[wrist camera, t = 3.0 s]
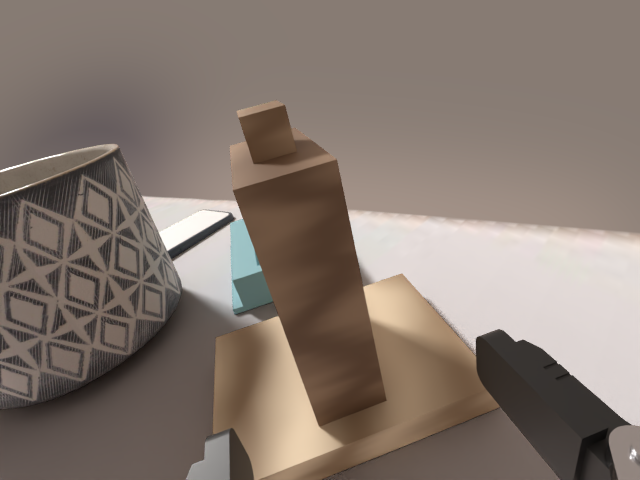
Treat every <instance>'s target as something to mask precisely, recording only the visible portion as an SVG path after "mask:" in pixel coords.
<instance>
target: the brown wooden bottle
mask: <svg viewBox="0 0 640 480" xmlns="http://www.w3.org/2000/svg"><path fill="white" fill-rule="evenodd" d="M237 114H238V117H239V120H240V123H241V126H242V130H243V133H244V136H245V139H246V141H245V142H242V143H238V144H235V145H231V146H230V157H231V171H232V186H233V192H234V195H235V197H236V200H237V203H238V206H239V209H240V211H241V214H242V217H243V220H244V222H245V225H246V228H247V231H248V233H249V236H250V239H251V242H252V244H253V247H254V250H255V253H256V255H257V258H258V261H259V264H260V266H261V269H262V272H263V275H264V277H265V280H266V283H267V286H268V288H269V291H270V294H271V296H272V299H273V302H274V305H275V307H276V310H277V313H278V316H279V318H280V321H281V324H282V327H283V329H284V332H285V335H286V338H287V340H288V343H289V346H290V349H291V351H292V354H293V357H294V360H295V362H296V365H297V368H298V371H299V373H300V376H301V379H302V382H303V384H304V387H305V390H306V392H307V395H308V398H309V401H310V403H311V406H312V409H313V412H314V414H315V417H316V420H317V423H318V425H319V427H320V426H323V425H325V424H328V423H330V422H333V421H336V420H338V419H341V418H343V417H346V416H349V415H351V414H354V413H356V412H359V411H361V410H364V409H367V408H369V407H372V406H374V405H377V404H380V403H382V402H385V401H387V400H386V395H385V390H384V385H383V380H382V376H381V371H380V366H379V361H378V356H377V351H376V347H375V342H374V337H373V332H372V327H371V322H370V317H369V313H368V308H367V303H366V298H365V293H364V288H363V284H362V279H361V274H360V269H359V264H358V259H357V255H356V250H355V245H354V240H353V235H352V230H351V225H350V221H349V216H348V211H347V206H346V202H345V196H344V192H343V187H342V182H341V177H340V173H339V168H338V163H337V160H336V158H334V157H333V156H332V155H330V154H329V153H328V152H326V151H325V150H324V149H322V148H321V147H320V146H318V145H317V144H316V143H315V142H313V141H312V140H310V139H309V138H308V137H306V136H305V135H304V134H303V133H301V132H300V131H299V130H297V129H296V128H291V127H290V123H289V119H288V115H287V111H286V107H285V105H284V104H282V103H280V102H278V101H276V100H275V101H272V102H268V103H264V104H261V105H257V106H254V107H249V108H246V109H242V110H239V111H237Z"/></svg>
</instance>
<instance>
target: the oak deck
mask: <svg viewBox="0 0 640 480" xmlns="http://www.w3.org/2000/svg"><path fill="white" fill-rule="evenodd" d="M363 288H364V293H365V298H366V303H367V308H368V313H369V317H370V322H371V327H372V332H373V337H374V342H375V347H376V351H377V356H378V361H379V366H380V371H381V376H382V380H383V385H384V390H385V395H386V400H387V401H385V402H382V403H380V404H377V405H374V406H372V407H369V408H367V409H364V410H361V411H359V412H356V413H354V414H351V415H349V416H346V417H343V418H341V419H338V420H336V421H333V422H330V423H328V424H325V425H323V426H320V427H319V425H318V423H317V420H316V417H315V414H314V412H313V409H312V406H311V403H310V401H309V398H308V395H307V392H306V390H305V387H304V384H303V382H302V379H301V376H300V373H299V371H298V368H297V365H296V362H295V360H294V357H293V354H292V351H291V349H290V346H289V343H288V340H287V338H286V335H285V332H284V329H283V327H282V324H281V321H280V318H279V316H277V317H274V318H271V319H268V320H265V321H262V322H259V323H257V324H254V325H251V326H248V327H245V328H242V329H239V330H236V331H233V332H230V333H227V334H225V335H222V336H219V337H216V346H215V376H214V405H213V434H216V433H219V432H221V431H224V430H227V429H230V428H233V429H234V430H235V432H236V434H237V436H238V437H239V439H240V441H241V443H242V445H243V447H244V448H245V450H246V452H247V454H248V456H249V458H250V461H251V465H252V469H253V475H254V480H322V479H324V478H326V477H329V476H331V475H334V474H336V473H339V472H341V471H344V470H346V469H349V468H351V467H354V466H356V465H359V464H361V463H364V462H366V461H368V460H371V459H373V458H376V457H378V456H381V455H383V454H386V453H388V452H391V451H393V450H396V449H398V448H401V447H403V446H406V445H408V444H411V443H413V442H415V441H418V440H420V439H423V438H425V437H428V436H430V435H433V434H435V433H438V432H440V431H443V430H445V429H448V428H450V427H453V426H455V425H457V424H460V423H462V422H465V421H467V420H470V419H472V418H475V417H477V416H480V415H482V414H485V413H487V412H490V411H492V410H495V409H497V408H499V407H500V406H499V404H498V403H497V402H496V401H495V400H494V398H493V397H492V396H491V395H490V394H489V392H488V391H487V390H486V389H485V387H484V386H483V384H482V383H481V381H480V379H479V376H478V374H477V369H476V356H475V355H474V354H473V353H472V351H471V350H470V349H469V348H468V347H467V346H466V345H465V344H464V342H463V341H462V340H461V339H460V338H459V337H458V336H457V335H456V333H455V332H454V331H453V330H452V329H451V328H450V327H449V326H448V324H447V323H446V322H445V321H444V320H443V319H442V318H441V317H440V316H439V314H438V313H437V312H436V311H435V310H434V309H433V308H432V307H431V305H430V304H429V303H428V302H427V301H426V300H425V299H424V298H423V296H422V295H421V294H420V293H419V292H418V291H417V290H416V289H415V287H414V286H413V285H412V284H411V283H410V282H409V281H408V280H407V279H406V277H405V276H404V275H403V274H399V275H396V276H393V277H390V278H387V279H384V280H382V281H379V282H376V283H373V284H370V285H367V286H364V287H363Z"/></svg>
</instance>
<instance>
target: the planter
mask: <svg viewBox="0 0 640 480" xmlns="http://www.w3.org/2000/svg"><path fill="white" fill-rule="evenodd" d="M181 291H182V285H181V280H180V277H179V275H178V273H177V271H176V269H175V267H174V265H173V262H172V260H171V258H170V256H169V254H168V252H167V249H166V247H165V245H164V243H163V241H162V239H161V237H160V234H159V232H158V230H157V228H156V226H155V224H154V221H153V219H152V217H151V215H150V213H149V211H148V209H147V206H146V204H145V202H144V200H143V198H142V196H141V193H140V192H139V189H138V187H137V185H136V183H135V181H134V179H133V176H132V174H131V172H130V170H129V168H128V165H127V163H126V161H125V159H124V157H123V155H122V153H121V150H120V148H119V146H118V145H116V144H107V145H99V146H93V147H88V148H83V149H79V150H74V151H70V152H66V153H62V154H58V155H54V156H50V157H46V158H43V159H39V160H35V161H32V162H29V163H25V164H21V165H18V166H15V167H11V168H7V169H4V170H1V171H0V409H12V408H20V407H26V406H31V405H35V404H38V403H42V402H45V401H48V400H51V399H54V398H57V397H59V396H62V395H64V394H67V393H69V392H71V391H73V390H76V389H78V388H80V387H82V386H84V385H86V384H88V383H89V382H91V381H93V380H95V379H97V378H99V377H100V376H102V375H104V374H105V373H107V372H108V371H110V370H112V369H113V368H115V367H116V366H118V365H119V364H121V363H122V362H123V361H125V360H126V359H128V358H129V357H130V356H132V355H133V354H134V353H135V352H137V351H138V350H139V349H140V348H142V347H143V346H144V345H145V344H146V343H147V342H148V341H149V340H151V339H152V338H153V337H154V336H155V335H156V334H157V333H158V331H159V330H160V329H161V328H162V327H163V326H164V325H165V323H166V322H167V321H168V320H169V318H170V317H171V315H172V314H173V312H174V310H175V309H176V307H177V305H178V302H179V300H180V297H181Z"/></svg>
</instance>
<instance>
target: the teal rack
mask: <svg viewBox="0 0 640 480" xmlns="http://www.w3.org/2000/svg"><path fill="white" fill-rule="evenodd" d="M230 230H231V272H232V301H233V311H234V314H238V313H241V312H244V311H247V310H250V309H253V308H256V307H259V306H262V305H265V304H268V303H271V302H273V299H272V296H271V294H270V291H269V288H268V286H267V283H266V280H265V277H264V275H263V272H262V269H261V266H260V264H259V261H258V258H257V255H256V253H255V250H254V247H253V244H252V242H251V239H250V236H249V233H248V231H247V228H246V225H245V222H244V220H243V219H241V220H238V221H235V222H231V223H230Z"/></svg>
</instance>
